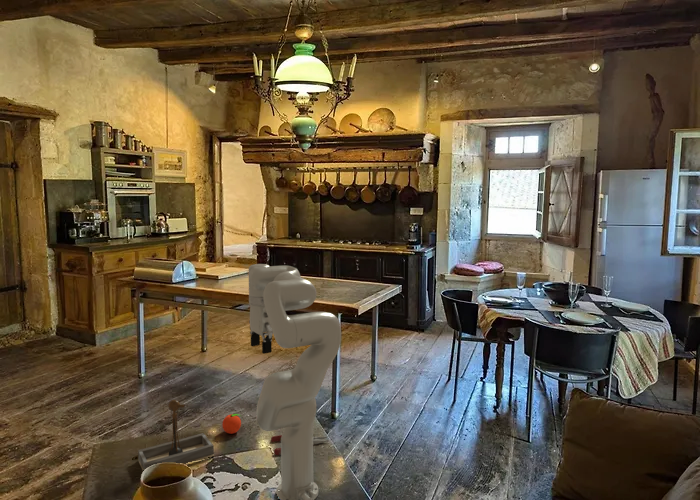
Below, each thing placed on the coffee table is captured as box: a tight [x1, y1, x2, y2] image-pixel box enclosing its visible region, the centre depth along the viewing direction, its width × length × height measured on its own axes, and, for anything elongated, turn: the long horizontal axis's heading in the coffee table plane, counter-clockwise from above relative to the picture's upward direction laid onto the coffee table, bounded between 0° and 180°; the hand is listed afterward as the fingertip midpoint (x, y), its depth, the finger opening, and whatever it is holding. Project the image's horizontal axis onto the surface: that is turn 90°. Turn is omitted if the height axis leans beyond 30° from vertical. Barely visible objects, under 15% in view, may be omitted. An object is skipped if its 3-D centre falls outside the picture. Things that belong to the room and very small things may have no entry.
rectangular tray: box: [137, 432, 215, 471], centre depth 167 cm, size 12×22×4 cm, turn 124°
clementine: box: [221, 413, 243, 435], centre depth 186 cm, size 8×7×7 cm
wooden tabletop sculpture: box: [168, 399, 186, 456], centre depth 166 cm, size 6×5×20 cm
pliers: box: [270, 434, 329, 456], centre depth 177 cm, size 12×20×3 cm, turn 105°
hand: (261, 349), depth 170 cm, fingers open, 9 cm apart
